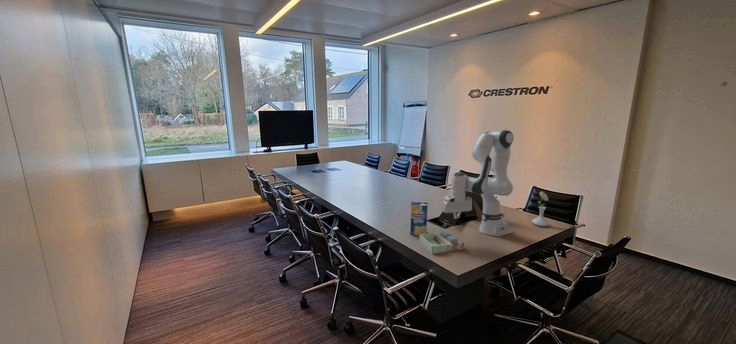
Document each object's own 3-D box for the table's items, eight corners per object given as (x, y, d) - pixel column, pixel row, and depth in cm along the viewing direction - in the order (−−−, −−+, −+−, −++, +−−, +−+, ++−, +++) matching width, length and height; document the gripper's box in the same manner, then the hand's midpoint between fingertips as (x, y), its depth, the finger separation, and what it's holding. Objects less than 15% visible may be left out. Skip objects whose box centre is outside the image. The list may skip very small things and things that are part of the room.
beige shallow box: (450, 238, 204) (450, 233, 203) (463, 248, 189) (464, 242, 188) (434, 240, 201) (434, 235, 200) (446, 251, 186) (446, 245, 185)
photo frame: (458, 214, 251) (460, 185, 246) (485, 215, 249) (488, 185, 243) (462, 221, 237) (464, 190, 231) (490, 221, 234) (493, 190, 229)
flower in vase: (551, 228, 221) (555, 195, 216) (534, 227, 223) (538, 194, 218) (544, 221, 233) (548, 190, 228) (528, 220, 236) (532, 189, 231)
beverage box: (426, 236, 209) (427, 205, 204) (410, 234, 211) (411, 204, 207) (426, 232, 215) (427, 202, 211) (411, 230, 218) (411, 201, 213)
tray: (433, 240, 202) (433, 233, 201) (446, 252, 185) (447, 244, 184) (419, 241, 199) (419, 234, 198) (431, 254, 182) (432, 246, 181)
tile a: (447, 234, 201) (447, 230, 201) (451, 237, 196) (451, 233, 196) (440, 235, 200) (440, 231, 199) (444, 238, 195) (444, 234, 195)
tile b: (453, 239, 194) (453, 235, 193) (457, 242, 189) (458, 238, 188) (446, 240, 192) (446, 236, 192) (450, 243, 188) (450, 239, 187)
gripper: (469, 195, 201) (467, 215, 203) (441, 197, 195) (440, 217, 198) (474, 197, 195) (473, 218, 197) (446, 200, 189) (445, 221, 192)
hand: (456, 218), depth 198 cm, fingers closed
